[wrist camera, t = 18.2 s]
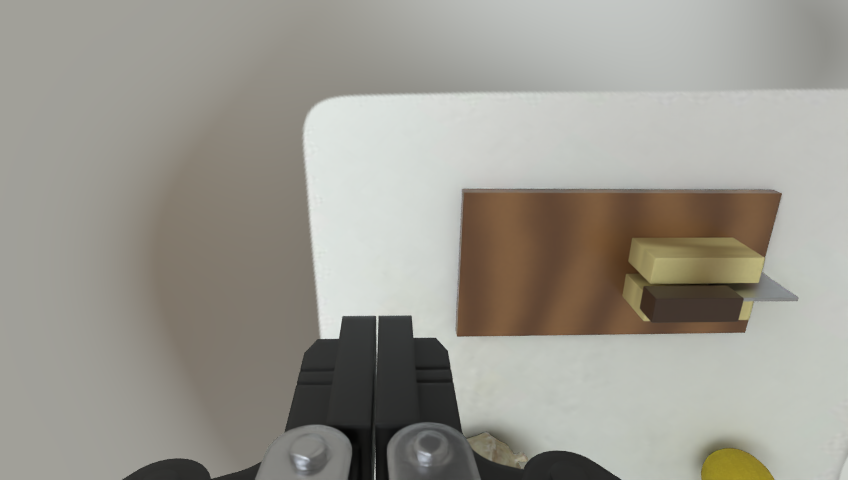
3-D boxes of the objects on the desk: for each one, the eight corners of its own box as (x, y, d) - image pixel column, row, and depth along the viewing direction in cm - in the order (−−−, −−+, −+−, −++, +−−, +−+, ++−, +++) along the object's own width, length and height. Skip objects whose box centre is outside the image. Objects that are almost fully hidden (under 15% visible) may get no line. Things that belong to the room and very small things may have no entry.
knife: (613, 279, 43) (651, 323, 37) (617, 258, 43) (656, 299, 36) (750, 278, 44) (809, 321, 38) (755, 257, 43) (817, 297, 37)
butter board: (455, 330, 46) (463, 365, 41) (462, 188, 41) (471, 210, 37) (738, 326, 47) (776, 360, 42) (773, 189, 43) (820, 210, 38)
